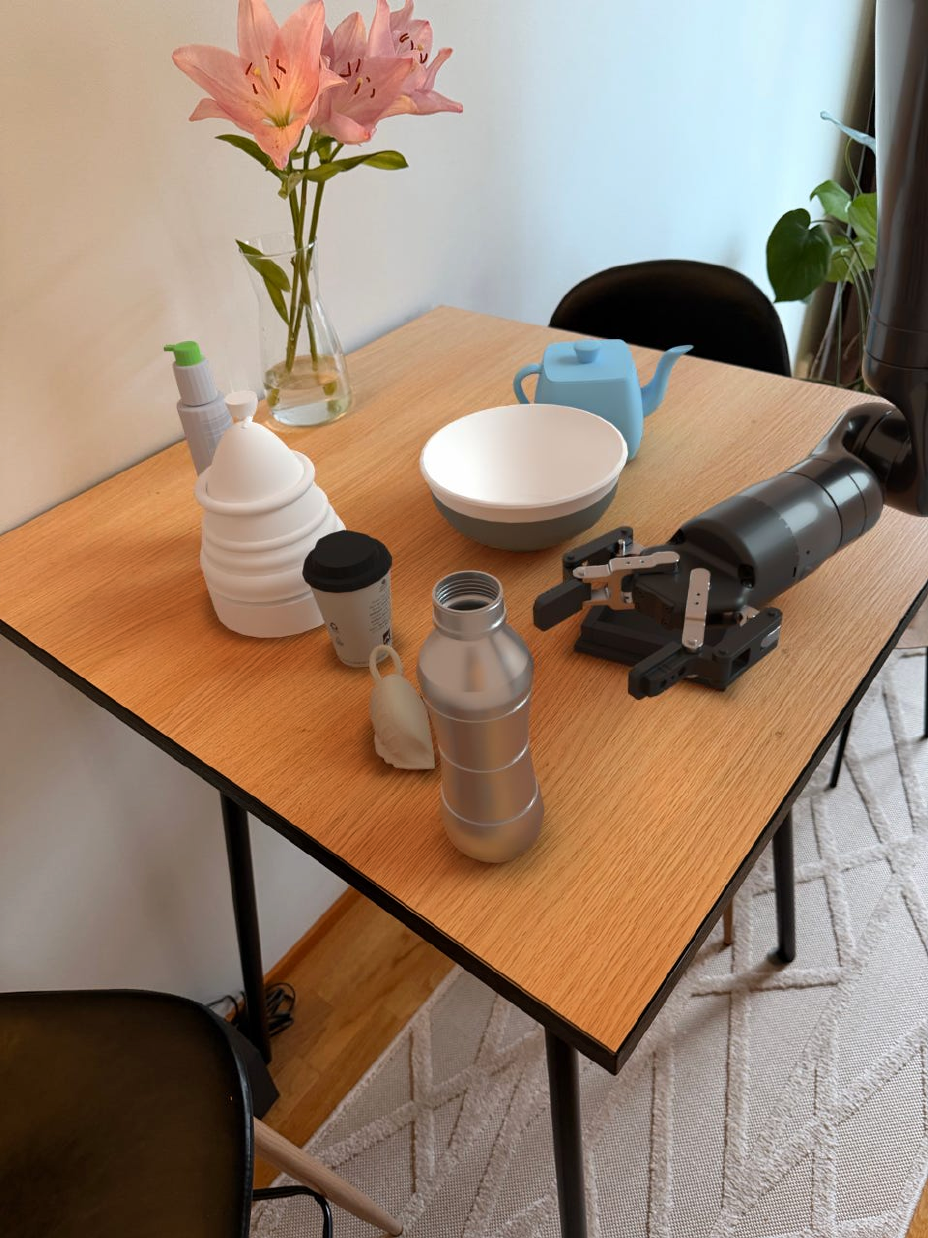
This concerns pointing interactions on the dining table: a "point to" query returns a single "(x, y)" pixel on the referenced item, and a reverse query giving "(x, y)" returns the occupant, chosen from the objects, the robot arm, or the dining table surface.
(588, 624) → the pad
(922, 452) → the robot arm
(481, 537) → the bowl
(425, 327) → the dining table surface
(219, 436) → the bottle
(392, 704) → the decorative ornament
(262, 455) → the honey pot
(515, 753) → the silver metal bottle
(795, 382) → the dining table surface
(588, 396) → the teapot
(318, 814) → the dining table surface
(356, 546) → the coffee cup
